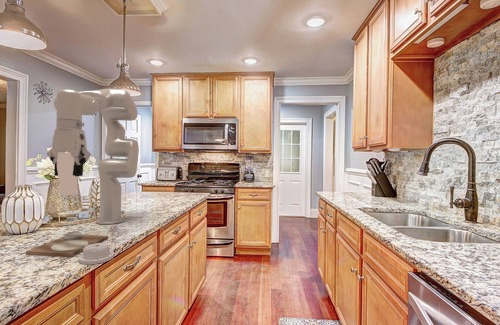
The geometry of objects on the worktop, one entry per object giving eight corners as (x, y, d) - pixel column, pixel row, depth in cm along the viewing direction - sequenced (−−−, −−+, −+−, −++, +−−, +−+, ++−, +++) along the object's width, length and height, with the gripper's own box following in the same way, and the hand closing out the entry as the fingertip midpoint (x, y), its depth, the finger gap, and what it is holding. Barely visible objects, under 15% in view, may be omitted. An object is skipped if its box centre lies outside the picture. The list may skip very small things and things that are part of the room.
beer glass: (66, 192, 100) (66, 152, 99) (84, 193, 99) (84, 152, 99) (51, 195, 93) (51, 151, 92) (70, 196, 92) (71, 152, 92)
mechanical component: (70, 263, 83) (97, 267, 81) (70, 249, 83) (98, 252, 81) (95, 252, 93) (120, 255, 91) (95, 239, 93) (120, 242, 91)
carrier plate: (70, 236, 109) (70, 231, 109) (108, 238, 108) (108, 232, 108) (25, 254, 89) (25, 247, 89) (71, 257, 88) (71, 249, 88)
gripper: (99, 127, 99) (98, 175, 99) (55, 126, 100) (54, 174, 100) (85, 124, 91) (84, 177, 91) (37, 124, 93) (36, 175, 93)
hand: (68, 175), depth 96 cm, fingers closed on beer glass, 6 cm apart
